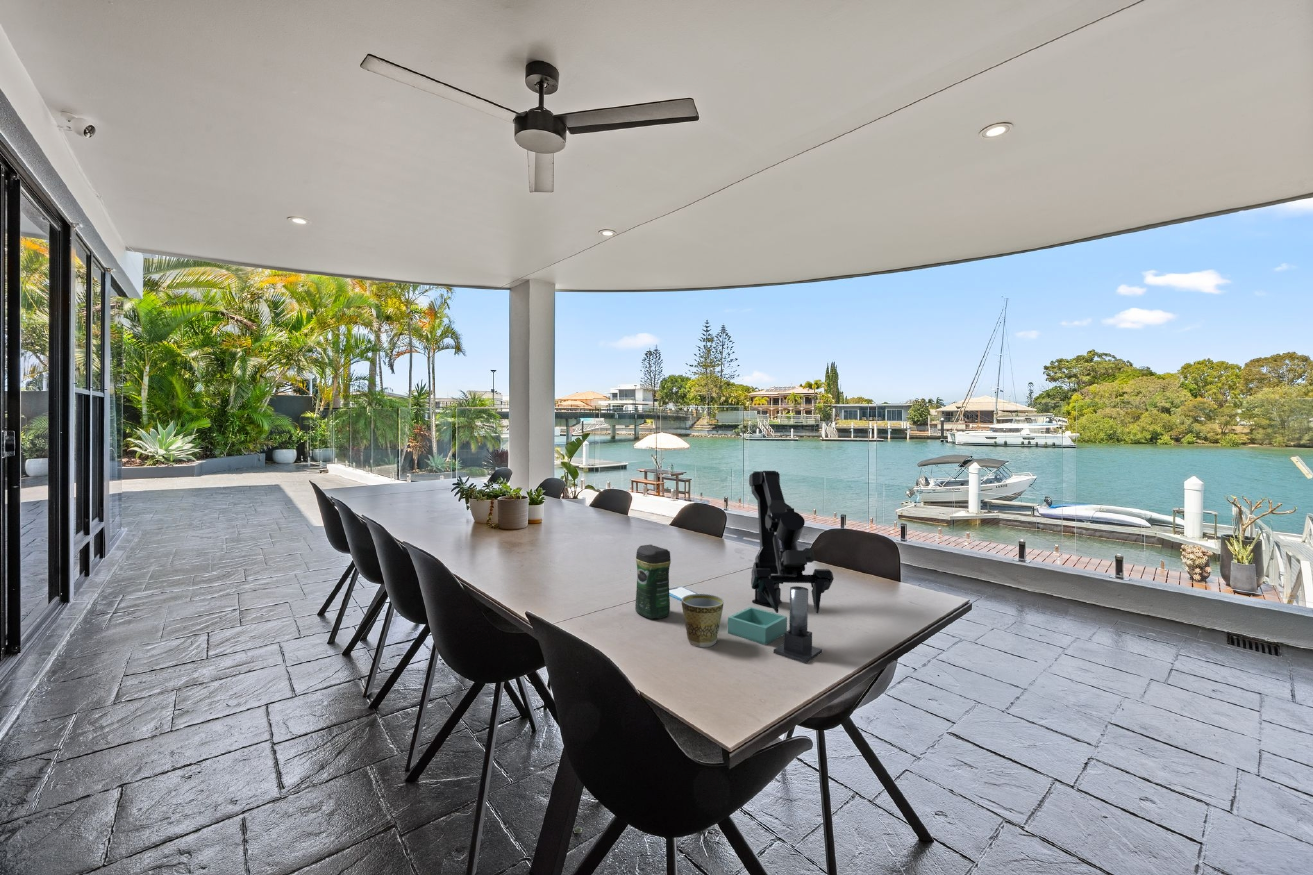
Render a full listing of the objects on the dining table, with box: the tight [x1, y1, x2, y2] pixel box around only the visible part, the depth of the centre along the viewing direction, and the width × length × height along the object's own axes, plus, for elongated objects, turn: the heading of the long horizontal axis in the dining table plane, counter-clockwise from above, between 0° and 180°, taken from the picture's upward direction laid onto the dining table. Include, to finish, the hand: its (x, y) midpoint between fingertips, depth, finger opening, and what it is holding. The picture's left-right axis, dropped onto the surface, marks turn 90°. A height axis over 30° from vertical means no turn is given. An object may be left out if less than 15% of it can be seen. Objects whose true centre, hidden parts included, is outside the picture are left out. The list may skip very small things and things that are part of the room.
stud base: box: [773, 636, 823, 665], centre depth 123 cm, size 8×8×4 cm
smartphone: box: [669, 586, 699, 602], centre depth 162 cm, size 8×1×15 cm
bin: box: [727, 606, 788, 646], centre depth 135 cm, size 11×11×4 cm
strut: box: [783, 585, 813, 655], centre depth 123 cm, size 5×5×14 cm
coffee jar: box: [634, 544, 672, 619], centre depth 147 cm, size 10×8×19 cm
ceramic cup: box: [681, 593, 724, 648], centre depth 130 cm, size 13×10×10 cm
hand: (797, 612), depth 124 cm, fingers open, 9 cm apart
